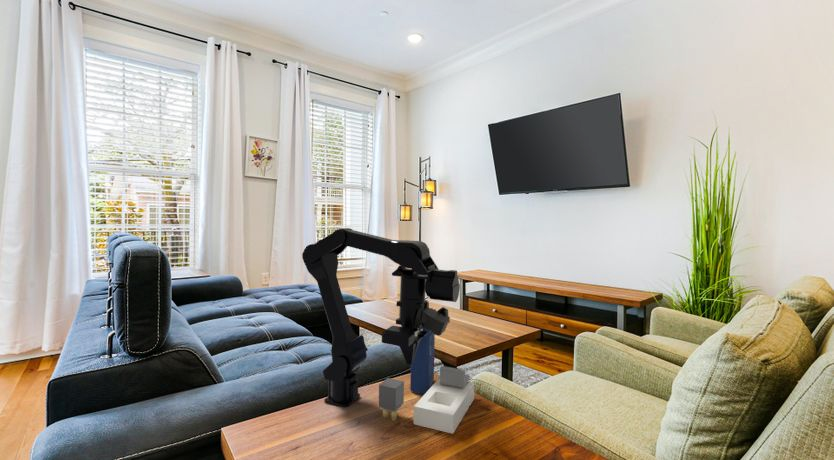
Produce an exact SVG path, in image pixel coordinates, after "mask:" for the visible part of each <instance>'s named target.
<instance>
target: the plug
mask: <svg viewBox="0 0 834 460" xmlns="http://www.w3.org/2000/svg"><path fill="white" fill-rule="evenodd" d="M404 386H405V380H399V379H395V378H389V377H387V378H385V379H384V380H383V381H382V382H381V383H380V384H378V408H380V409H382V418H384V419H387V418H389V411H390V414H391V415H390V416H391V417H390V418H391V420H392V421H396V420H397V418H398V415H397V414H398V413H397V411H398V410H399V409H400V407H401V406H403V404H404V401H405V400H404V399H405V398H404V397H405V390H404V389H405V387H404Z"/></svg>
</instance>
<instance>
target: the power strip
mask: <svg viewBox="0 0 834 460" xmlns="http://www.w3.org/2000/svg"><path fill="white" fill-rule="evenodd" d="M474 400H475V382H470V381H468V383H467V384H466V385H465V387H464V388H459V387H454V386H449V385H444V384H440V377H439V378H438V379H437V380H436V381H435V382H433V383H432V385H431V387H430V389H429V390H428V391H427V392H426V393H425V394H423V395H422V396H421V398H420V399H419V400H418V401H417V402H416V403H415V404H414V405H413V425H416V426H420V427H424V428H428V429H432V430H436V431H441V432H444V433H448V434H454V433H455V431H456V429H457V428H458V426H459V425H460V424H461V423H460V422H461V421H462V419H463V418H464V417H465V415H466V413H467V412H468V409H469V408H470V407H469V406H471V404H473V402H474Z"/></svg>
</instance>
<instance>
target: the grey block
mask: <svg viewBox="0 0 834 460" xmlns="http://www.w3.org/2000/svg"><path fill="white" fill-rule="evenodd" d="M470 376H471V375H469V374H466V370H465V369H461V368H456V367H450V366H445V365H444V366H443V365H441V366H440V367H439V378H440V384H444V385H449V386H454V387H459V388H464V387H465V385H466V384H467V383H468V382H470V380H471V377H470Z"/></svg>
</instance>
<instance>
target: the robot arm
mask: <svg viewBox="0 0 834 460" xmlns="http://www.w3.org/2000/svg"><path fill="white" fill-rule="evenodd" d="M347 247H348V248H349V247H350V248H353V249H357V250H360V251H363V252H364V251H365V252H367V253H372V254H376V255H379V256H384V257H385V258H388V259H389V260H391V262H393V263H394V264H397V265H399V266H398V267H397V268H396V269H395V270H394V271H393V272H391V276H392V277H400V286H399V288H400V289H399V300H397V301H396V304H395V305H396V307H399V313H398V315H399V316H398V318H396V319H395V325H391V326H390V327H388V328H386V329H385V330H384V331H383V332H382V333H381V343H382V344H386V345H392V346H398V347H399V349H400V351H401V353H402V356H403V358H404V360H405V363H406V364H407V365H409V366H411V364H413V361H414V358H415V354H416V351H417V348H418V345H419V342H420V340H421V339H422V338H423V337H424V336H425V335H426V334H428V332H427V331H423V328H421V326H423V327H424V328H426V329H428V330H430V331H432V332H433V333H434V334H435V335H436V336H438V337H439V336H441V335H443V333H445V331H446V329H447V326H448V325H449V324H450V320H451V319H450V318H451V317H450V316H449V309H448V308H446V307H444V306H442V307H441V308H439V309H438V310H437V309H436V308H433V309H434V310H432V309H430V308H431V307H430V303H429V300H427V299H426V296H427V297H428V298H429V299H430V300H435V301H442V302H443V301H444V302H445V301H446V302H453V303H457V301H458V298H459V295H460V288H461V286H460V285H461V284H460V281H459V277H458V270H456V269H454V270H453V269H450V270H445V269H439V268H438V265H437V264H436V262H435V261H434V260H433V258H432V256H431V252H430V251H431V250H430V248H429V247H428V245H427V244H426V243H425V242H424V241H422V240H410V239H409V240H407V239H405V240H402V239H401V240H398V239H390V238H387V237H383V236H379V235H374V234H372V233H371V234H370V233H366V232H362V231H358V230H355V229H353V228H350V227H344V228H337V229H336V230H335V231H332V233H330V234H329V235H328V236H325V237H323V238H322V239H320V240H318V241H316V242H315V243H312V244H308V245H306V247H305V248H304V250H303V252H302V254H301V257H302V261H303V263H304V265H305V268H306V269H307V272H308V273H309V274H310V275H311V276H312V277H313V279H314V280H315V281H316V283H317V286H318V290H319V293H320V297H321V300H322V304H323V308H324V311H325V314H326V317H327V318H326V319H327V321H328V324H329V327H330V332H331V335H332V342H331V349H330V353H331V355H330V356H331V361H332V362H331V363H330V364H329V365H328V366H327V367H326V368H324V369H323V370H322V373H323V376H324V380H326V381H328V382H327V383H328V386H327V387H328V390H327V391H328V393H327V394H328V396H327V397H325V398H324V402H325V403H328V404H332V405H336V406H339V407H344V408H346V407H349V406H350V405H351V404H352V403H353V402H355V401H356V400H358V399H359V398H360V397H361V394H360V393H359V381H358V379H357V378H358V377H357V376H358V374H357V373H356V372H358V371H359V370H360V368H361V366H362V365H363V364H364V363H365V361H366V359H367V356H368V355H367V351H368V347H367V346H366V343H365V339H364V335H362V334H360V335H357V334H356V333H355V332H354V330H353V329H352V325H351V324H352V323H351V321H350V318H349V314H348V311H347V310H348V309H347V307H346V304H345V301H344V300H345V299H344V297H343V294H342V290H341V287H340V283H339V280H338V276H337V274H338V268H339V259H338V256H339V255H340V254H342V253H343V252H344V251H345V250H346V249H347ZM398 325H400V326H398Z"/></svg>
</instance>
